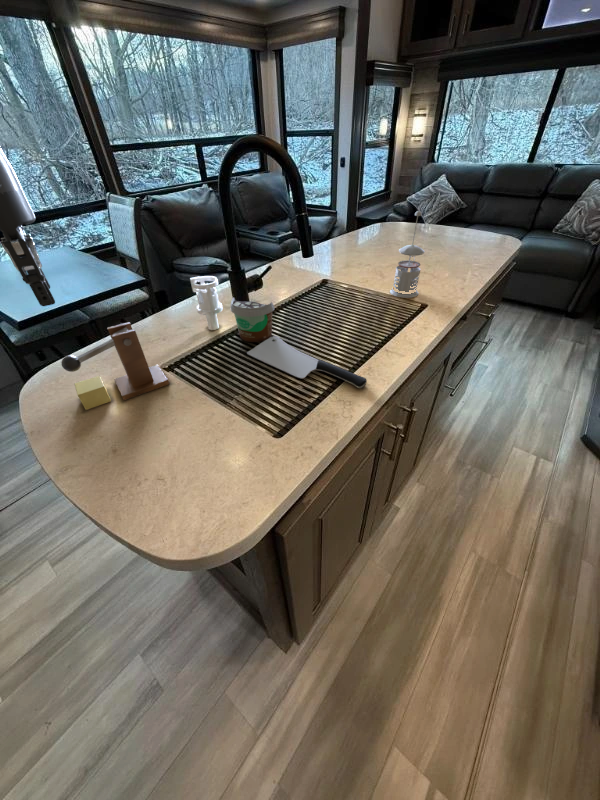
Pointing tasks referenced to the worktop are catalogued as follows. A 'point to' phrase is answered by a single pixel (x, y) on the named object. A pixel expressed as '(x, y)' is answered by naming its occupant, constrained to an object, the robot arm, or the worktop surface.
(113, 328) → the wooden stand
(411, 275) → the french press
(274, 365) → the kitchen cleaver
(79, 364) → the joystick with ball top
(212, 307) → the white plastic fitting
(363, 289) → the worktop surface
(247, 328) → the food container
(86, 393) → the butter
